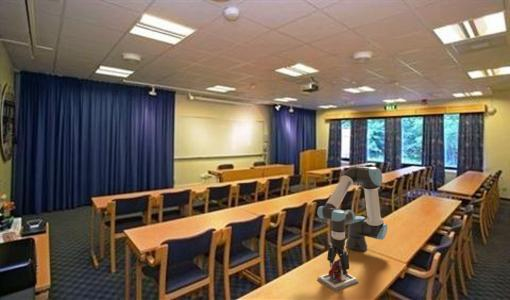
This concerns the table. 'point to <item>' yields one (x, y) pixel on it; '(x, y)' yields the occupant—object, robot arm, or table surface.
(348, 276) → the base board
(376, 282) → the table surface
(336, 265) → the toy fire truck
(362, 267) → the table surface
